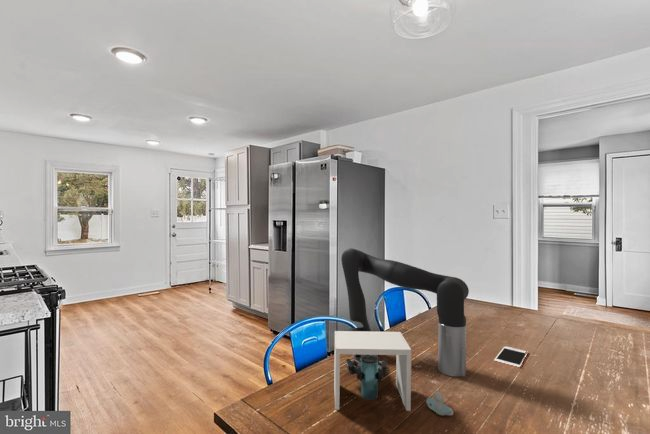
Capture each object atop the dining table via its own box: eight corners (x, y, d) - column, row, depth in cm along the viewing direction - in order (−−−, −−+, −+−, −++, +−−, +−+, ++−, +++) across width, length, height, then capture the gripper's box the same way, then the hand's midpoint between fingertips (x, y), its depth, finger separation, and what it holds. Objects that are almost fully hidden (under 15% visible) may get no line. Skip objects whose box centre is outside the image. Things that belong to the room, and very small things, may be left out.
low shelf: (334, 384, 106) (334, 331, 106) (399, 385, 106) (400, 331, 106) (335, 409, 92) (335, 348, 92) (410, 410, 92) (411, 349, 92)
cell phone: (528, 353, 132) (528, 351, 132) (520, 369, 119) (520, 367, 119) (504, 348, 138) (504, 345, 138) (493, 362, 124) (493, 360, 124)
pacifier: (437, 402, 97) (423, 407, 94) (437, 381, 97) (424, 386, 94) (458, 415, 91) (444, 421, 88) (459, 393, 91) (445, 398, 88)
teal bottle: (379, 392, 102) (379, 353, 102) (375, 401, 97) (375, 360, 97) (363, 388, 104) (363, 351, 104) (358, 397, 99) (359, 357, 99)
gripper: (344, 343, 115) (347, 365, 98) (384, 343, 114) (394, 366, 97) (343, 364, 115) (346, 390, 98) (384, 364, 115) (394, 390, 98)
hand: (370, 378), depth 98 cm, fingers closed on teal bottle, 5 cm apart
